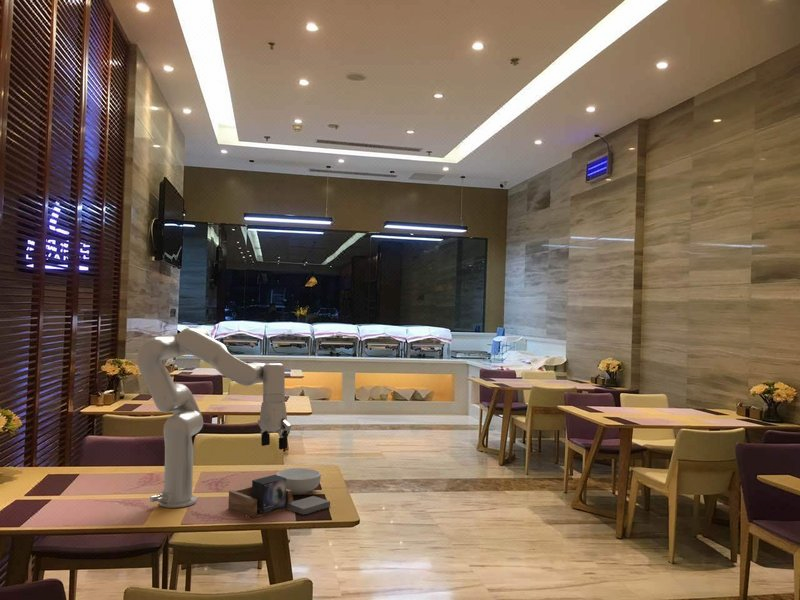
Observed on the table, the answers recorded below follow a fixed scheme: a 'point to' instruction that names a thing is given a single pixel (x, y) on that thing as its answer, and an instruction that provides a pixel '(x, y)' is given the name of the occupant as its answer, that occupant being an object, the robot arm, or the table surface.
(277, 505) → the small box
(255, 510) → the box
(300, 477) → the cereal bowl
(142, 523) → the table surface
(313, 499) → the slate stand
